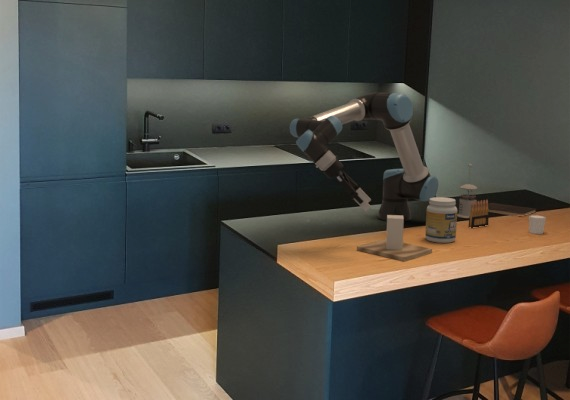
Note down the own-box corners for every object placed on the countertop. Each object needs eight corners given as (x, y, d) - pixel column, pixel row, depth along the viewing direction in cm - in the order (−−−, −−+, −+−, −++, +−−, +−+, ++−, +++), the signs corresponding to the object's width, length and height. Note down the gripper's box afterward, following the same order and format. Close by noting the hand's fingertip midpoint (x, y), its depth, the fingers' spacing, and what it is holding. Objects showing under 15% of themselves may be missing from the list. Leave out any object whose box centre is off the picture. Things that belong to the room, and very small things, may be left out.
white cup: (536, 235, 301) (537, 218, 300) (524, 231, 307) (525, 215, 306) (548, 233, 304) (549, 217, 303) (535, 230, 310) (537, 214, 309)
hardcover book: (522, 218, 338) (522, 213, 337) (477, 211, 353) (477, 206, 352) (535, 213, 349) (536, 208, 349) (492, 207, 364) (492, 202, 364)
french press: (455, 216, 336) (457, 164, 332) (458, 212, 347) (461, 161, 342) (476, 218, 333) (479, 165, 328) (479, 214, 343) (482, 162, 339)
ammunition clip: (471, 228, 312) (473, 201, 310) (468, 227, 314) (469, 200, 312) (488, 225, 318) (490, 199, 316) (485, 225, 320) (486, 198, 317)
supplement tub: (449, 245, 282) (452, 203, 279) (420, 241, 289) (422, 200, 286) (459, 239, 293) (462, 198, 290) (431, 235, 299) (433, 195, 296)
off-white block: (386, 249, 269) (387, 218, 267) (386, 245, 275) (387, 214, 273) (402, 249, 268) (403, 218, 266) (401, 246, 274) (403, 215, 272)
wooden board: (356, 250, 273) (356, 246, 273) (385, 242, 286) (385, 238, 285) (404, 261, 258) (404, 257, 258) (431, 252, 270) (432, 248, 270)
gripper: (324, 167, 282) (361, 205, 283) (319, 176, 257) (360, 218, 258) (338, 154, 280) (375, 193, 281) (335, 162, 256) (375, 205, 257)
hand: (368, 205), depth 270 cm, fingers open, 13 cm apart
